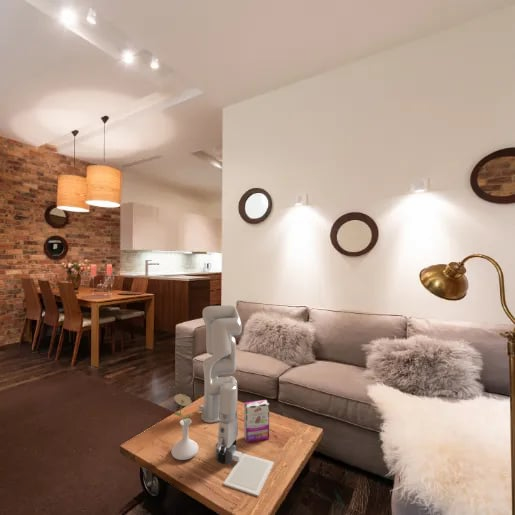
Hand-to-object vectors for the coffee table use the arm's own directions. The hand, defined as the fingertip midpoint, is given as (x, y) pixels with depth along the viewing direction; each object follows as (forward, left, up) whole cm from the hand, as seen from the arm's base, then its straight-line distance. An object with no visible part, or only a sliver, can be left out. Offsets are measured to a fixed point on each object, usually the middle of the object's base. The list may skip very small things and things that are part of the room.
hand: (227, 455), depth 121 cm
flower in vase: (-19, -4, -2) cm, 19 cm away
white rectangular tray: (+12, -4, -2) cm, 13 cm away
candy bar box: (+6, +18, -2) cm, 19 cm away
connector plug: (0, 0, -2) cm, 2 cm away
